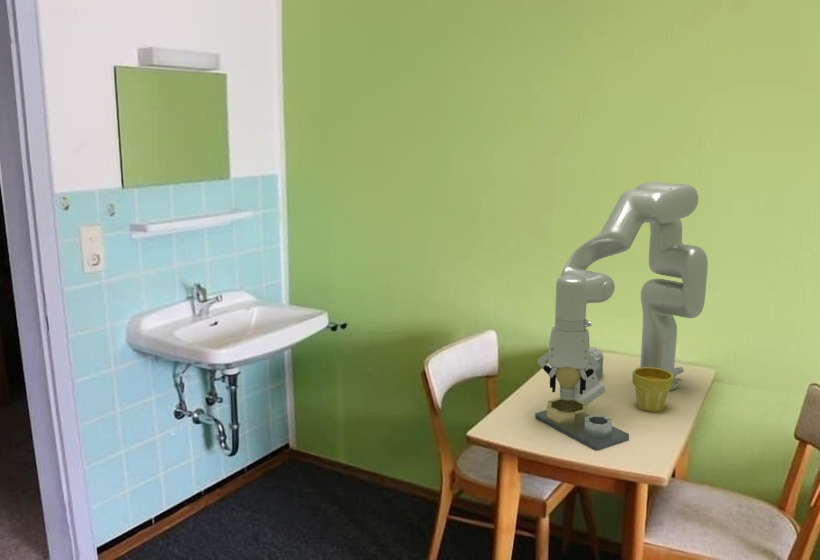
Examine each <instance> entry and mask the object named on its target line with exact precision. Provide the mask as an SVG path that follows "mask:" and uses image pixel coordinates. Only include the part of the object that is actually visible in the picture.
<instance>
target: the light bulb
mask: <svg viewBox="0 0 820 560" xmlns="http://www.w3.org/2000/svg"><path fill="white" fill-rule="evenodd" d="M555 375H556V381H557V382H558V384H559V383H560V385H561V387H560V385H559V389H560V390H559V398H562V399H563V400H568V401H569V400H572V399H574V398H575V395H574V394H575V387H574V386H575V385H576V384H577V383H578V381H579V380H580V377H581V373H580V371H579V369H574V368H571V367H563V368H557V370H556V372H555Z"/></svg>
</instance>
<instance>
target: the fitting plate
mask: <svg viewBox="0 0 820 560" xmlns="http://www.w3.org/2000/svg"><path fill="white" fill-rule="evenodd" d="M546 404H547V406H546V409H545V410H542V411H538V412H535V413H534V419H535V420H538V422H541V423H543V424H545V425H547V426H548V427H551V428H552V429H555V430H556V431H558V432H559V433H561V434H564V435H565V436H567V437H570V438H571V439H573V440H574V441H577V442H579V443H580V444H583V445H584V446H587V447H589V449H592V450H594V451H599V450H602V449H605V448H608V447H612V446H614V445H617V444H620V443H623V442H626V441H629V440H630V433H628V432H626V431H624V430H622V429H620V428H618V427H615V426H613V419H612V418H610V417H607V416H605V415H602V414H601V415H600V414H599V415H598V414H591V415H590V414H588V405H587V404H586V403H583V402H581V401H579V400H577V399H572V400H569V401H568V400H563V399H562V398H561V397H557V398H555V399H550V400H548V401H547V403H546Z"/></svg>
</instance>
